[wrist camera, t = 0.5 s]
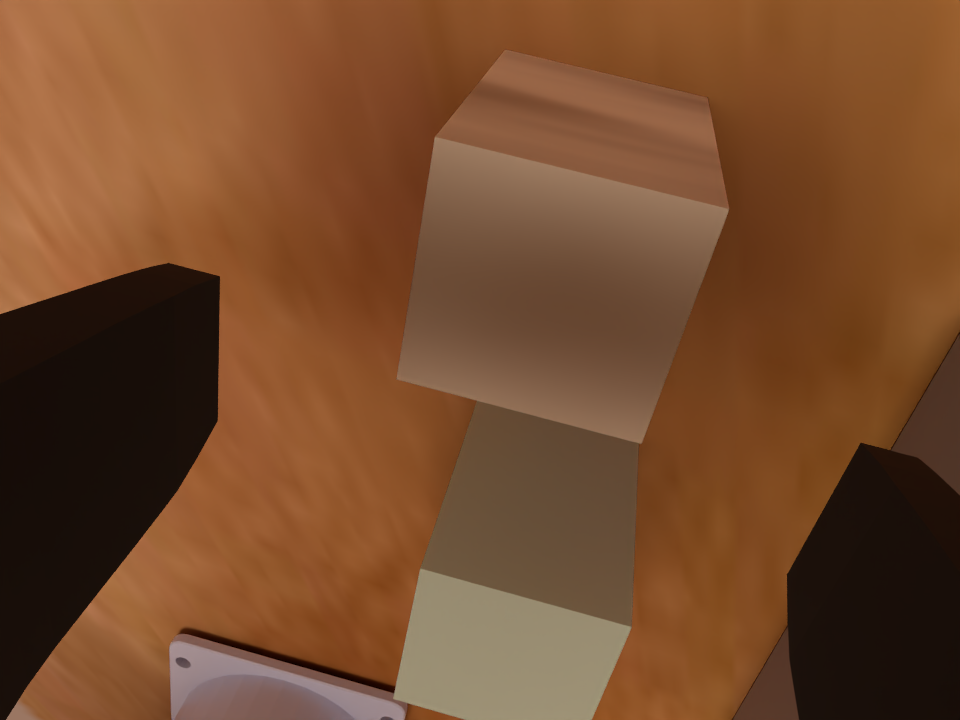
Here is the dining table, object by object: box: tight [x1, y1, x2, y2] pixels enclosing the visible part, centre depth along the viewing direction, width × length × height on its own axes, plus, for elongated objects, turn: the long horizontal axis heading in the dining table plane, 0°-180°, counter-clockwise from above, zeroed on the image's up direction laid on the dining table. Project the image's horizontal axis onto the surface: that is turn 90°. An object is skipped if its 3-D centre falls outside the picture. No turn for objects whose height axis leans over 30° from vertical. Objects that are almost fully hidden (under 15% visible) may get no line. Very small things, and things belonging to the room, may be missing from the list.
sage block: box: [393, 401, 639, 720], centre depth 19 cm, size 4×4×6 cm
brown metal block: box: [397, 49, 729, 444], centre depth 15 cm, size 4×4×6 cm
